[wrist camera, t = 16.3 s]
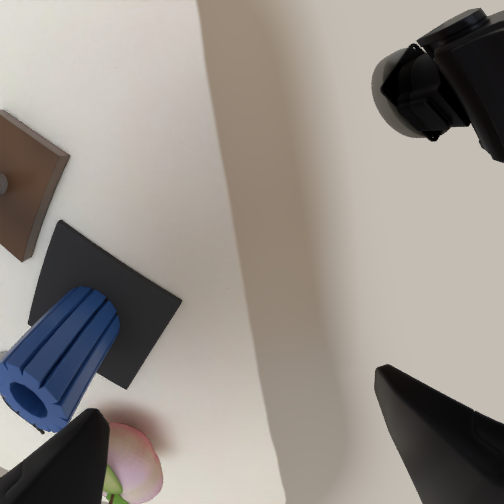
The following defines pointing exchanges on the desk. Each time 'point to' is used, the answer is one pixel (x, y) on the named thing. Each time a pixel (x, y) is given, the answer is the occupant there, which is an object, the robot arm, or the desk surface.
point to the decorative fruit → (131, 467)
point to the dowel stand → (25, 184)
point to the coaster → (115, 289)
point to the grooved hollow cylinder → (59, 358)
